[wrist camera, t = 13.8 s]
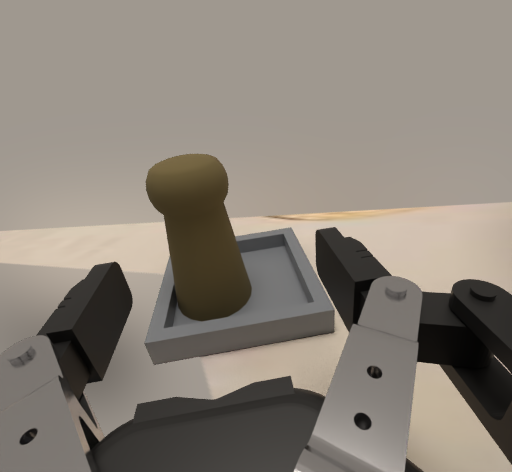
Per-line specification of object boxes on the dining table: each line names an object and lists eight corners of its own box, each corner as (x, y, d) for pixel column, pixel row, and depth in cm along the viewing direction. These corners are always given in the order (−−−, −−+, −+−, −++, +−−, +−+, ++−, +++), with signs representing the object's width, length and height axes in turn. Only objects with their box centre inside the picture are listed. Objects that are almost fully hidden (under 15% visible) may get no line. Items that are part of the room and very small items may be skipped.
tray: (292, 244, 29) (291, 227, 28) (334, 332, 19) (334, 309, 18) (177, 263, 29) (172, 246, 28) (153, 364, 18) (144, 343, 17)
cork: (164, 296, 23) (117, 165, 18) (222, 263, 27) (197, 143, 21) (204, 335, 19) (157, 178, 14) (267, 290, 22) (249, 149, 17)
